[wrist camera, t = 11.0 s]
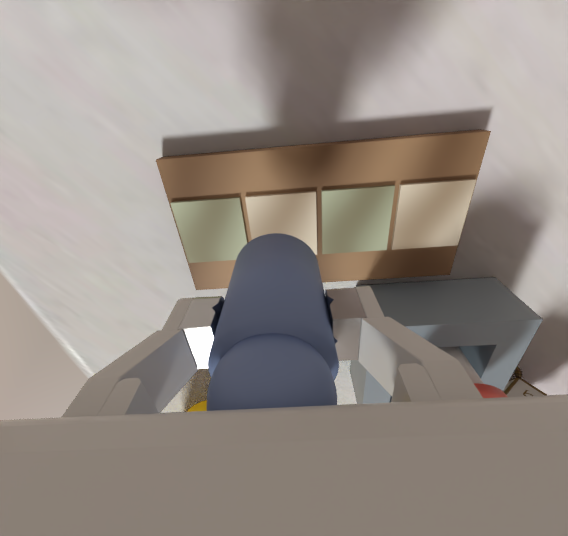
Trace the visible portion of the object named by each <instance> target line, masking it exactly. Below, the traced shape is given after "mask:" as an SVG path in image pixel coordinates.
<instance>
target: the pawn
mask: <svg viewBox="0 0 568 536" xmlns="http://www.w3.org/2000/svg"><path fill="white" fill-rule="evenodd" d="M338 368H339V361H338V356H337V351H336V347H335V342H334V337H333V332H332V327H331V323H330V318H329V313H328V308H327V303H326V298H325V294H324V289H323V284H322V279H321V274H320V270H319V265H318V260H317V258H316V255H315V254H314V252H313V250H312V249H311V248H310V247H309V246H308V245H307V244H306V243H305V242H303V241H302V240H300V239H298V238H296V237H294V236H291V235H287V234H281V233H273V234H266V235H262V236H259V237H257V238H255V239H253V240H251V241H250V242H248V243H247V244H246V245H245V246H244V247H243V248H242V249H241V251H240V252H239V254H238V256H237V259H236V262H235V266H234V269H233V273H232V276H231V280H230V283H229V287H228V290H227V294H226V297H225V301H224V304H223V308H222V311H221V315H220V318H219V322H218V325H217V328H216V332H215V335H214V339H213V342H212V346H211V349H210V353H209V357H208V370H209V373H210V376H211V380H210V383H209V387H208V393H207V411H215V410H237V409H259V408H281V407H303V406H325V405H337V394H336V387H335V383H334V380H335V378H336V376H337V373H338Z"/></svg>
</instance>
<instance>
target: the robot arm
mask: <svg viewBox="0 0 568 536" xmlns="http://www.w3.org/2000/svg"><path fill="white" fill-rule="evenodd" d="M325 298H326V303H327V308H328V313H329V318H330V323H331V327H332V332H333V337H334V342H335V347H336V351H337V356H338V361H341V360H358V361H359V362H360V363H361V364H362V366H363V367H364V368H365V369H366V370H367V371H368V372H369V373H370V374H371V375H372V376H373V377H374V378H375V379H376V380H377V381H378V382H379V383H380V384H381V385H382V386H383V388H384V389H385V390H386V391H387V392H388V393H389V394H390V395H391V396H392V400H391V402H390V403H369V404H347V405H325V406H303V407H281V408H259V409H237V410H215V411H193V412H172V413H160V412H161V411H162V410H163V409H164V408H165V407H166V406H167V404H168V403H169V402H170V401H171V400H172V399H173V398H174V397H175V395H176V394H177V393H178V392H179V391H180V390H181V389H182V387H183V386H184V385H185V384H186V383H187V382H188V381H189V380H190V378H191V377H192V376H193V375H194V374H195V373H196V372H197V371H198V369H199V368H208V357H209V353H210V349H211V346H212V342H213V339H214V335H215V332H216V328H217V325H218V322H219V318H220V315H221V311H222V308H223V304H224V298H223V297H222V296H218V297H196V298H181V299H179V300H178V301H177V303H176V305H175V307H174V308H173V310H172V312H171V314H170V316H169V318H168V320H167V322H166V323H165V325H164V327H163V329H162V330H161V331H156V332H155V333H153V334H152V335H151V336H149V337H148V338H146V339H145V340H143V341H142V342H141V343H139V344H138V345H136V346H135V347H133V348H132V349H131V350H129V351H128V352H126V353H125V354H123V355H122V356H121V357H119V358H118V359H116V360H115V361H114V362H112V363H111V364H109V365H108V366H106V367H105V368H104V369H102V370H101V371H99V372H98V373H96V374H95V375H94V376H92V377H91V378H89V379H88V380H87V382H86V383H85V385H84V386H83V387H82V389H81V390H80V392H79V393H78V395H77V396H76V398H75V399H74V400H73V402H72V403H71V404H70V406H69V407H68V409H67V410H66V412H65V413H64V414H63V416H62V417H61V418H41V419H19V420H0V536H568V394H567V395H545V396H523V397H501V398H483V397H482V396H481V394H480V393H479V391H478V390H477V388H476V387H475V385H474V383H473V382H472V380H471V379H470V377H469V376H468V374H467V373H466V371H465V370H464V368H463V367H462V365H461V364H460V362H459V361H458V360H457V359H456V358H454V357H452V356H451V355H449V354H448V353H446V352H444V351H443V350H441V349H440V348H438V347H436V346H435V345H433V344H432V343H430V342H429V341H427V340H425V339H424V338H422V337H421V336H419V335H417V334H416V333H414V332H413V331H411V330H409V329H408V328H406V327H405V326H403V325H402V324H400V323H398V322H397V321H395V320H394V319H392V318H390V317H384V314H383V312H382V310H381V308H380V306H379V304H378V301H377V299H376V297H375V295H374V293H373V291H372V288H371V287H370V286H361V287H354V288H342V289H328V290H326V292H325Z"/></svg>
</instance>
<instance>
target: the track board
mask: <svg viewBox="0 0 568 536" xmlns="http://www.w3.org/2000/svg"><path fill="white" fill-rule="evenodd" d="M490 132H491V131H486V130H481V129H480V130H469V131H457V132H445V133H434V134H422V135H411V136H399V137H388V138H376V139H364V140H353V141H341V142H330V143H318V144H307V145H295V146H283V147H272V148H260V149H249V150H237V151H226V152H214V153H202V154H191V155H179V156H168V157H161V158H159V159H157V160H156V162H157V166H158V169H159V172H160V175H161V178H162V182H163V185H164V188H165V191H166V194H167V198H168V201H169V204H170V207H171V211H172V214H173V217H174V220H175V223H176V227H177V230H178V233H179V236H180V239H181V243H182V246H183V249H184V252H185V256H186V259H187V262H188V265H189V268H190V272H191V275H192V278H193V281H194V284H195V288H196V290H203V289H220V288H228V287H229V283H230V280H231V276H232V273H233V269H234V266H235V262H236V259H237V256H238V254H239V252H240V251H241V249H242V248H243V247H244V246H245V245H246V244H247V243H248V242H250V241H251V240H253V239H255V238H257V237H259V236H262V235H266V234H273V233H281V234H287V235H291V236H294V237H296V238H298V239H300V240H302V241H303V242H305V243H306V244H307V245H308V246H309V247H310V248H311V249H312V250H313V252H314V254H315V255H316V258H317V260H318V265H319V270H320V274H321V279H322V282H336V281H352V280H369V279H386V278H402V277H419V276H435V275H450V272H451V268H452V265H453V261H454V258H455V254H456V251H457V247H458V244H459V240H460V237H461V233H462V230H463V226H464V223H465V219H466V216H467V212H468V209H469V205H470V202H471V198H472V195H473V191H474V188H475V184H476V181H477V177H478V174H479V170H480V167H481V163H482V160H483V156H484V153H485V149H486V146H487V142H488V139H489V135H490Z"/></svg>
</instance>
